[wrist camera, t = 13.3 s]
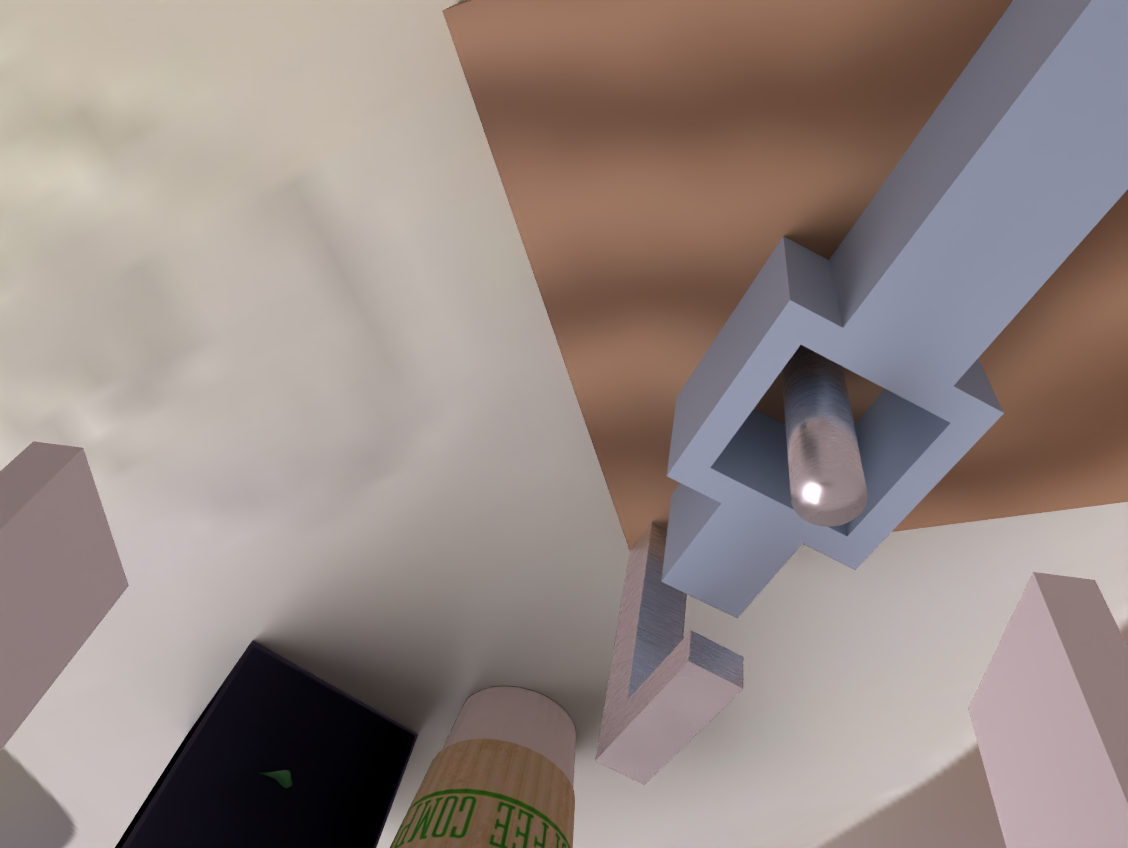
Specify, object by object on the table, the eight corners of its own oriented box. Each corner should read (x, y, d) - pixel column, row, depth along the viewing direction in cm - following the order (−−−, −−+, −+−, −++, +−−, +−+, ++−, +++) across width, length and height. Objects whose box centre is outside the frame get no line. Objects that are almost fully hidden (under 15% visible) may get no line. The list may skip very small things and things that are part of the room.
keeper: (704, 435, 35) (688, 661, 25) (743, 456, 35) (743, 688, 25) (633, 527, 38) (595, 761, 28) (670, 546, 38) (644, 784, 28)
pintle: (774, 320, 32) (784, 473, 24) (832, 309, 31) (861, 461, 23) (784, 368, 33) (798, 531, 25) (841, 358, 32) (872, 521, 24)
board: (456, 4, 28) (442, 10, 27) (1140, -233, 22) (1164, -239, 21) (638, 541, 38) (634, 564, 37) (1137, 473, 32) (1153, 498, 31)
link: (781, 549, 35) (786, 642, 31) (626, 473, 34) (610, 556, 30) (1216, 44, 24) (1317, 83, 20) (996, -87, 23) (1053, -76, 19)
